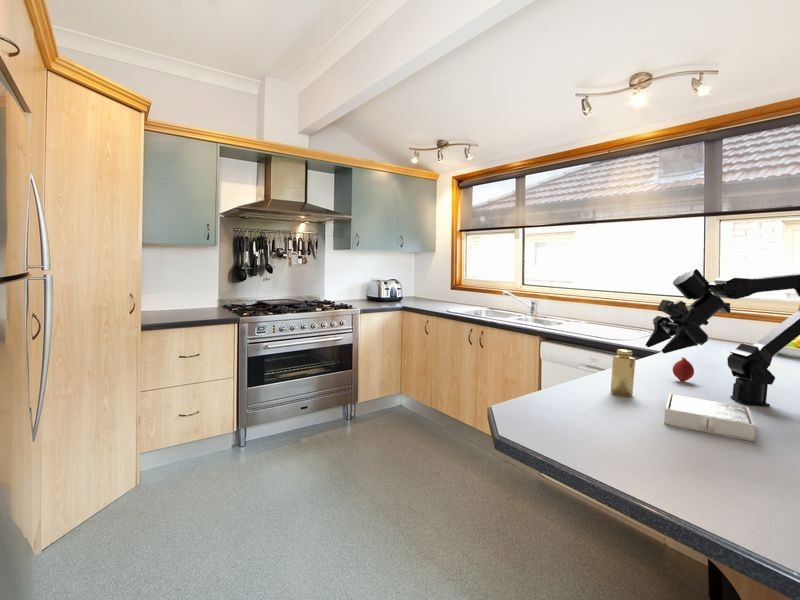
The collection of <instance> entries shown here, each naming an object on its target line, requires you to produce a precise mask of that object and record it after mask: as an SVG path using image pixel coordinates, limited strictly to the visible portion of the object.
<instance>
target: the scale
mask: <svg viewBox="0 0 800 600" xmlns="http://www.w3.org/2000/svg"><path fill="white" fill-rule="evenodd" d="M673 395H676V396H682V397H688V398H694V399H700V400H706V401H712V402H718V403H723V404H729V405H735V406H741V407H744V409H745V412H746V415H747V418H748V420H749V424H748V423H743V422H737V421H732V420H727V419H721V418H716V417H710V416H705V415H700V414H694V413H689V412H684V411H678V410H673V409H670V407H671V402H672V398H673ZM664 408H665V409H664V419H663V424H664V425H669V426H674V427H679V428H683V429H689V430H694V431H699V432H703V433H708V434H714V435H718V436H723V437H728V438H732V439H733V438H734V439H738V440H742V441H748V442H755V431H756V423H755V420H754V418H753V415H752V413H751V410H750V408H749V406H747V405H746V406H745V405H740V404H739V405H738V404H733V403H727V402H721V401H715V400H709V399H704V398H697V397H692V396H686V395H680V394H673V393H668V398H667V400H666V405H665V407H664Z"/></svg>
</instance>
